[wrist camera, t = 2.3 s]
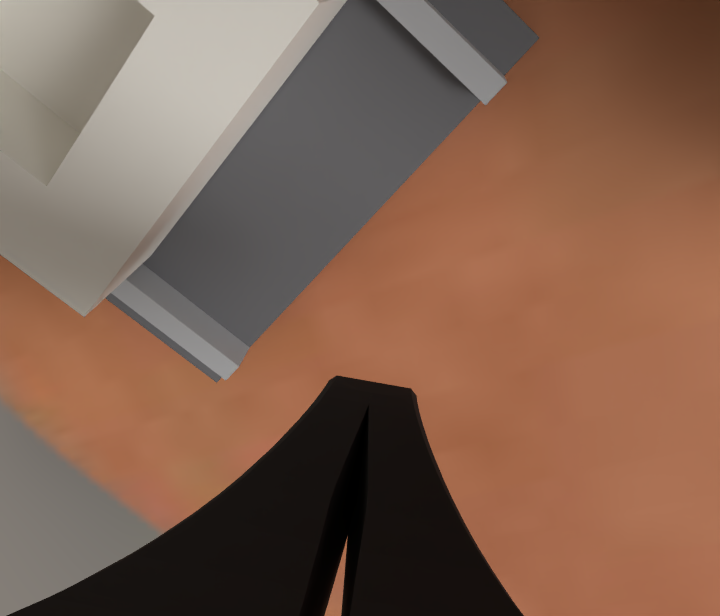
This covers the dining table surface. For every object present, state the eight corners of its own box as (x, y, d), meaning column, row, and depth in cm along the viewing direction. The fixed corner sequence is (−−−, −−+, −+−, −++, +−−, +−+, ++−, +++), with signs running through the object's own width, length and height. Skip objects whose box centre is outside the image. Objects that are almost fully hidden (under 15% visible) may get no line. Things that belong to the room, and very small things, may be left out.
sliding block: (349, -4, 14) (319, 2, 11) (151, 255, 17) (84, 316, 14) (21, -318, 12) (-126, -417, 9) (-129, 35, 16) (-275, 49, 12)
